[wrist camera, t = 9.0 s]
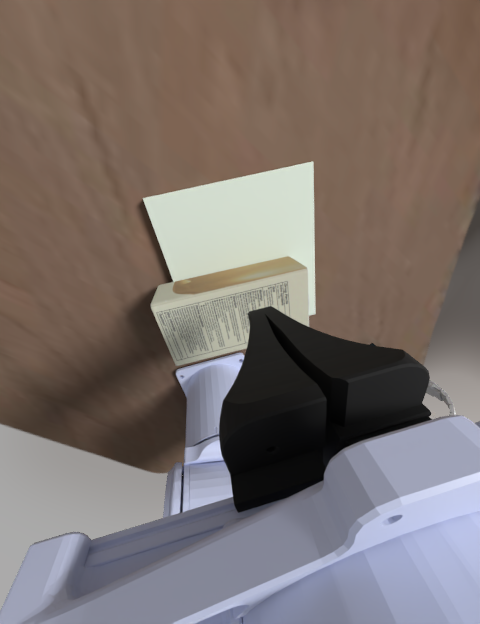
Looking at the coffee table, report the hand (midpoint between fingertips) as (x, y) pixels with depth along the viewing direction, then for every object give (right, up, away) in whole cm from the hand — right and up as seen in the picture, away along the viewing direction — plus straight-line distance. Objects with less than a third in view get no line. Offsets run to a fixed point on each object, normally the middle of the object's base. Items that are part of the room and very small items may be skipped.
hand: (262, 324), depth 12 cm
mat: (-1, +5, +9) cm, 10 cm away
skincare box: (-8, 0, +7) cm, 11 cm away
